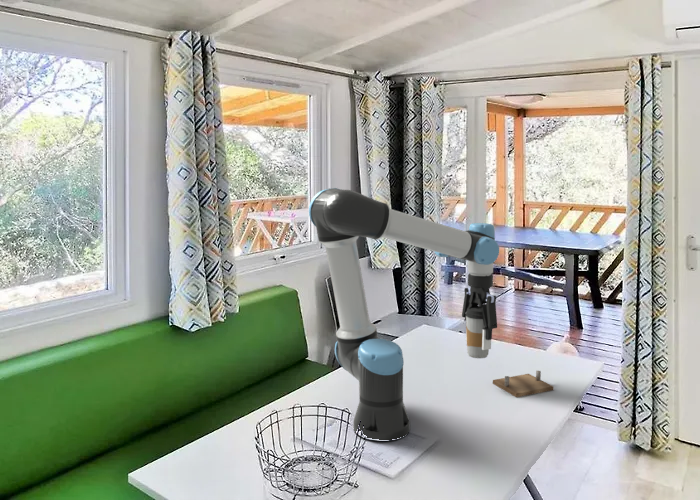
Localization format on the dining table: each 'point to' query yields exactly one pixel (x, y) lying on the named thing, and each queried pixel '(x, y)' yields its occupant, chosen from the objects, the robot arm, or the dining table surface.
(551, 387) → the wooden board with pegs
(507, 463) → the dining table surface
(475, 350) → the coffee cup
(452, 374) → the dining table surface
